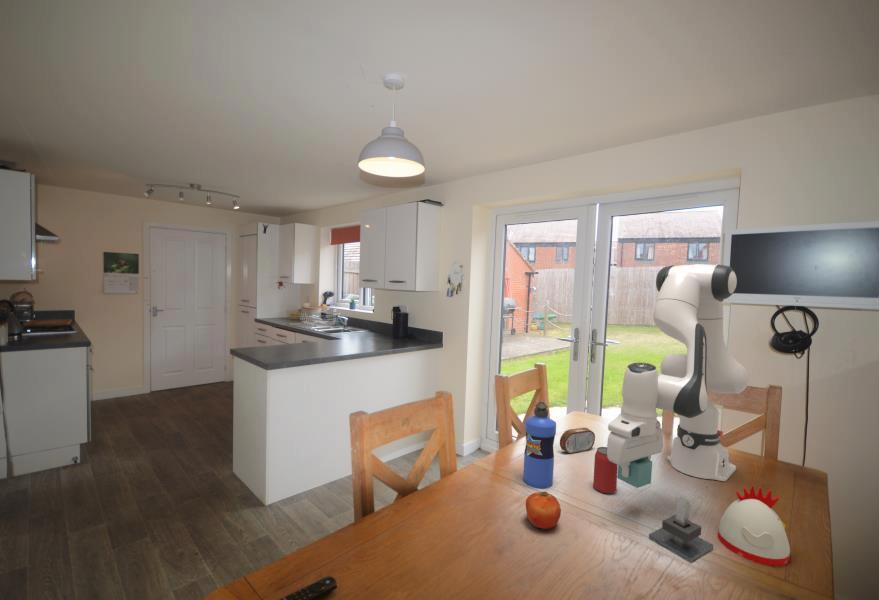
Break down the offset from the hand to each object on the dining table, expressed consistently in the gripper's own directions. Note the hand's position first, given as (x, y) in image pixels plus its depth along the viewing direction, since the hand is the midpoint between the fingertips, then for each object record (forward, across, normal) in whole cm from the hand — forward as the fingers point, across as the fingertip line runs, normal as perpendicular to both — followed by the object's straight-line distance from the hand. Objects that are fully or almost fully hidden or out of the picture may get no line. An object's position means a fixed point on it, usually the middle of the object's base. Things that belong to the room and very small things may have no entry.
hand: (634, 473), depth 112 cm
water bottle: (+11, +11, -25) cm, 30 cm away
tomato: (+12, +26, -8) cm, 29 cm away
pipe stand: (+11, +2, +14) cm, 18 cm away
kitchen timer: (+11, -13, +23) cm, 29 cm away
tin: (+11, -19, -35) cm, 42 cm away
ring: (+8, +2, +14) cm, 16 cm away
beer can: (+11, -4, -12) cm, 17 cm away
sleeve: (+2, 0, 0) cm, 2 cm away
